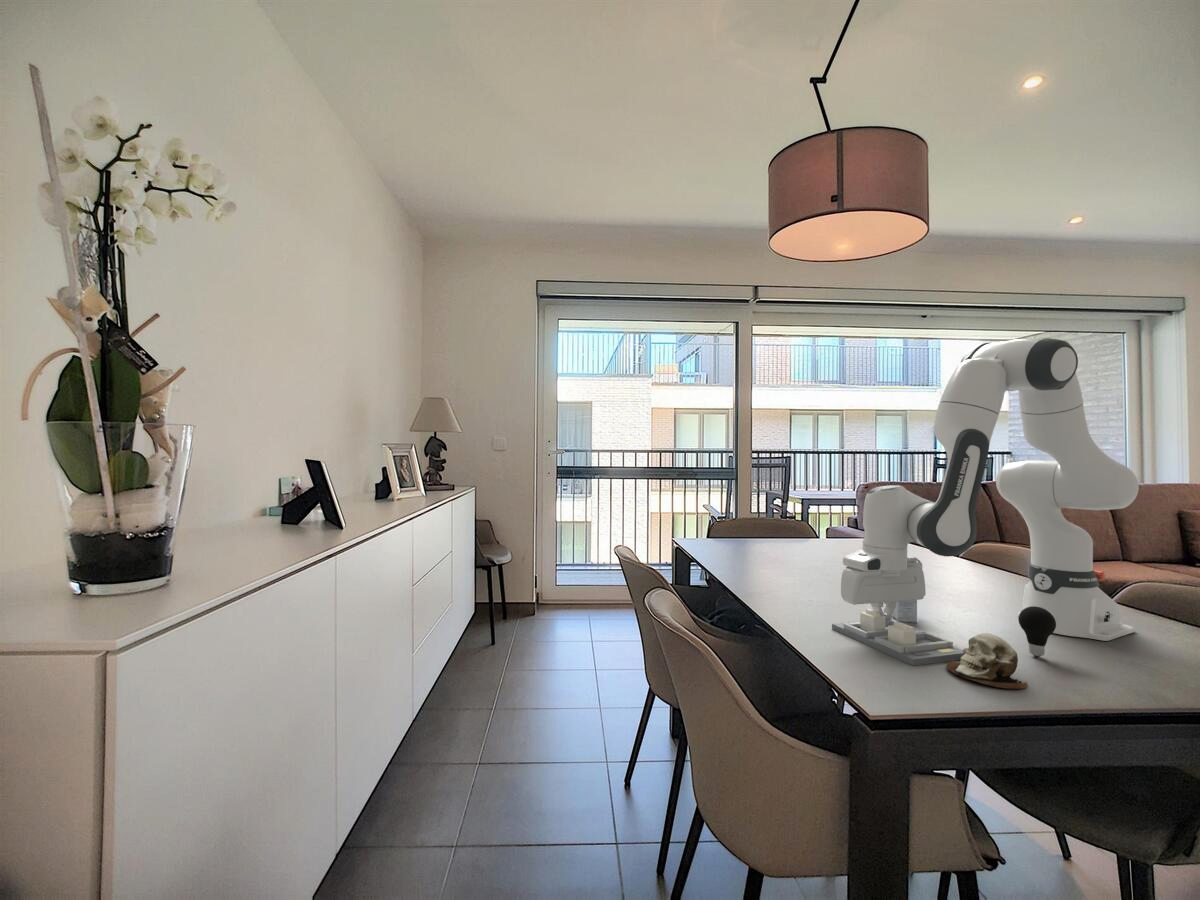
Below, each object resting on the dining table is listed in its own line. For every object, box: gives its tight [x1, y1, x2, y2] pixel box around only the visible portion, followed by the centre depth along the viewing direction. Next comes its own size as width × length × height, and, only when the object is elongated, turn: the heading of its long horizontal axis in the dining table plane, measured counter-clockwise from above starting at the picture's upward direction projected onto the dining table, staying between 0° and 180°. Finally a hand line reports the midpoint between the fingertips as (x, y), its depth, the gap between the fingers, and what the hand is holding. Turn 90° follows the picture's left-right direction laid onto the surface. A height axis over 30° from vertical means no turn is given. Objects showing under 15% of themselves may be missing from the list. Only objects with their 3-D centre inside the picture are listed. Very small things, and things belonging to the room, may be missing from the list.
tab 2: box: [888, 620, 917, 646], centre depth 111 cm, size 3×4×4 cm
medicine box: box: [892, 600, 918, 624], centre depth 135 cm, size 8×4×9 cm, turn 168°
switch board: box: [831, 618, 964, 667], centre depth 117 cm, size 22×14×2 cm, turn 17°
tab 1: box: [859, 608, 885, 631], centre depth 120 cm, size 3×4×4 cm
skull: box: [945, 632, 1028, 690], centre depth 100 cm, size 12×10×10 cm
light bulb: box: [1017, 606, 1056, 658], centre depth 109 cm, size 6×6×10 cm
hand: (883, 621), depth 121 cm, fingers closed
